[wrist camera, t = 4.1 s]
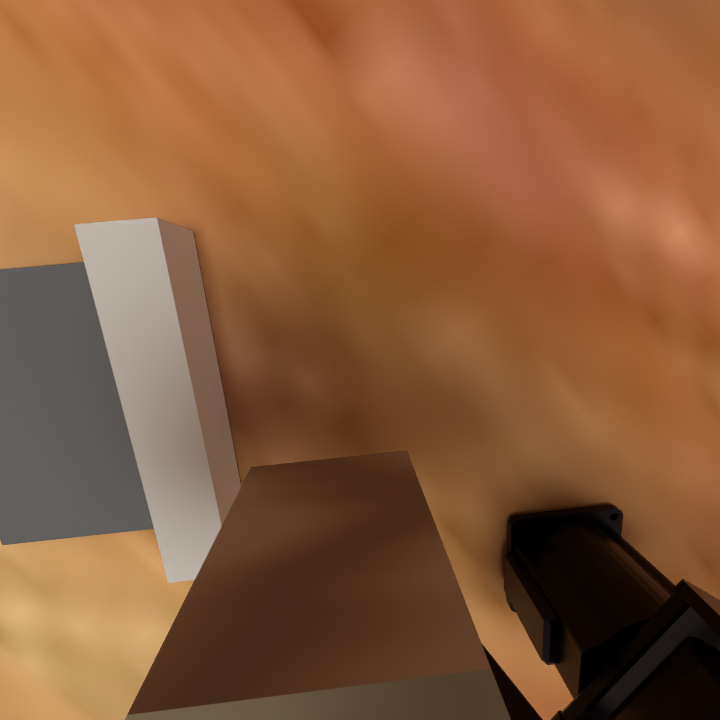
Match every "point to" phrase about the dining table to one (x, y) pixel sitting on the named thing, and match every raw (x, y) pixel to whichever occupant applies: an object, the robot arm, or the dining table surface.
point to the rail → (165, 380)
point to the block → (324, 608)
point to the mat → (61, 414)
